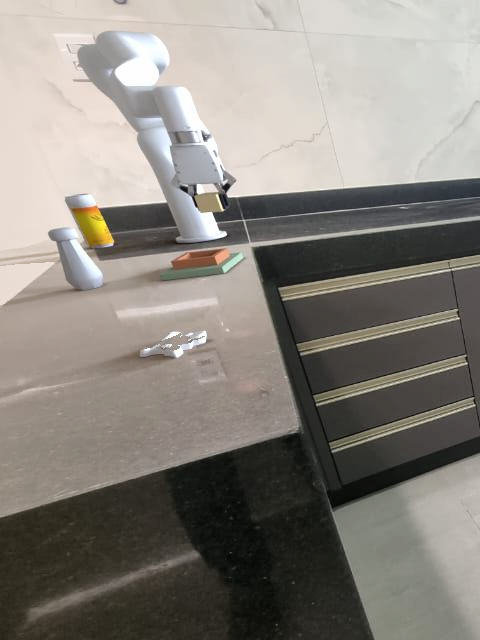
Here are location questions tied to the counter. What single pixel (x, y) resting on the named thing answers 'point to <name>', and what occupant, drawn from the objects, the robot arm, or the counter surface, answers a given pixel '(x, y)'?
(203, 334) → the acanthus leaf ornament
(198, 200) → the tan block
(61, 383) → the counter surface
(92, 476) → the counter surface
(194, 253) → the base pad
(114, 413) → the counter surface
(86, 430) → the counter surface
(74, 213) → the beer can
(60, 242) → the salt shaker
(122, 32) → the robot arm
